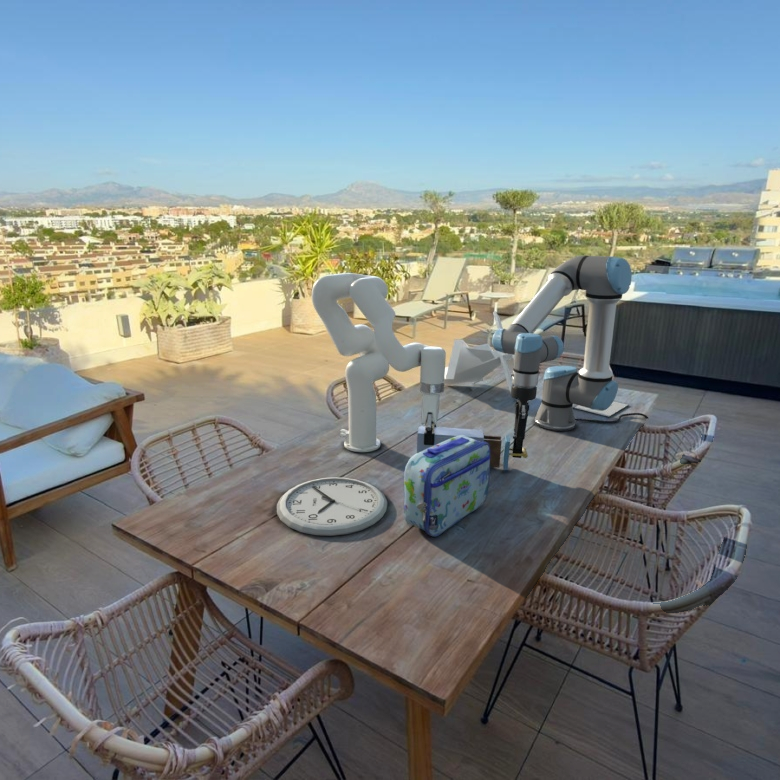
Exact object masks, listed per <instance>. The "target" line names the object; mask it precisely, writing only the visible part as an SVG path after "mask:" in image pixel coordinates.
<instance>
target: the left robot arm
mask: <svg viewBox="0 0 780 780" xmlns="http://www.w3.org/2000/svg"><path fill="white" fill-rule="evenodd" d="M388 293H389V288H388V285H387V283H386V282H385V280H383V279H382V278H381V277H379V276H375V275H367V274H361V273H354V272H353V273H352V272H343V273H334V274H333V273H332V274H327V275H323V276H321V277H319V278H318V279H316V281H315V282H314V284H313V285H312V288H311V303H312V306H313V309H314V310H315V312H316V313H317V315H318V317H319V318H320V320H321V321H322V323H323V325H324V327H325V329H326V332H327V333H328V335H329V337H330V339H331V341H332V342H333V345H334V346H335V348H336V351H337V352H338V353H339V354H340V356H343V357H352V356H354V355H358V357H355V358H353V359H352V360H351V361H349V362H348V364H347V365H346V366H345V371H344V374H345V381H346V386H347V402H348V430H347V429H344V428H341V429H340V431H339V437H341V438H345V440H344V443H343V446H344V448H345V449H346V450H348V451H351V452H355V453H370V452H374V451H376V450H379V448H380V447H381V440H380V439H379V438H377V393H376V390H375V387H374V383H375V382H376V381H379V380H381V379H383V378H385V377H386V376H387V375H388V374H389V371H390V367H391V368H392V369H394V370H395V371H397V372H399V373H400V372H401V373H403V372H407V371H408V372H409V371H410V370H413V369H414V368H419V367H420V368H419V369H420V373H419V392H420V393H421V394H422V399H421V416H420V424H421V425H424V426H425V432H424V445H434V437H435V433H434V427H437V422H438V418H439V413H440V400H441V395H442V394H444V393H445V384H444V380H445V368H446V359H447V357H446V356H447V354H446V353H447V352H446V350H445V349H444V348H443V347H440V346H430V345H426V344H423V343H421V342H411V343H408V344H405V345H403V344H402V343H401V342H400V341H399V339H398V338H397V337H396V335H395V332H394V330H393V322H394V320H395V318H396V311H395V310H394V308H393V307H392V306H391V304H390V303H389V302H388V300H387V299H386V298H387V296H388ZM347 299H351V300H352V302H353V303H354V304H355V306H356V307H357V308H358V309H359V311H360V312H361V313H362V315H363V316H364V317H365V319H366V320H367V322H368V323H369V324H370V326H371V327H372V328H371V327H369V326H368V325H366V324H360V323H359V324H355V325H354V323H353V322H352V320H351V318H350V317H349V315H348V313H347V311H346V310H345V309H344V308H343V306H341V305H340V304H339V303H338V301H341V300H347Z"/></svg>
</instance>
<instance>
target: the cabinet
mask: <svg viewBox="0 0 780 780" xmlns="http://www.w3.org/2000/svg"><path fill="white" fill-rule="evenodd" d="M424 432H425V425H419V426H418V429H417V436H416V441H417V442H416V454H417V453H419V452H421V451H424V450H426V449H428V448H430V447H432V446H434V445H437V444H439V443H441V442H444V441H446V440H448V439H451V438H453V437H456V436H459V435H464V436H467V437H469V438H472V439H474V440H477V441H480V442H482V441H484V435H485V434H484V430H483V429H472V428H458V427H456V428H455V427H444V426H443V427H442V426H436V427H434V433H435V437H434V445H424Z"/></svg>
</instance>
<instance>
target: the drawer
mask: <svg viewBox="0 0 780 780" xmlns="http://www.w3.org/2000/svg"><path fill="white" fill-rule="evenodd" d="M502 441H503V440H502V436H501V435H490V434H489V435H488V434H484V442H487V443H488V444H489V446H490V468H498V469H499V468H500V467H501V466H500V465H501V453H502ZM503 444H504V445H503V455H502V466H503V470H504V471H508V470H509V460H510V459H509V458H510V456H511V457H512V456H521V457H522V458H523V459H527V458H528V452H527V449H526V447H522V454H516V453H512V452H513V447H511V439H510V435H509V434H505V435H504V443H503ZM510 451H512V452H510Z"/></svg>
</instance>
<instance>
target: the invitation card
mask: <svg viewBox="0 0 780 780" xmlns="http://www.w3.org/2000/svg"><path fill="white" fill-rule="evenodd" d="M628 406H629V404H627V403H623V402H618V401H615V400H614V401H613V403H612V404H611V405H610V407H609V408H607V409H606V410H604V411H600V410H595V409H594V410H593V409H590V408H587V407H583V406H580V405H575V406H574V407H573V409H575V410H581V411H584V412H587V413H593V414H596V415H600V416H604V417H608V418H609V417H611V416H613V415H614V414H616V413H617V412H619V411H621V410H623V409H624V408H626V407H628Z"/></svg>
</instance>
